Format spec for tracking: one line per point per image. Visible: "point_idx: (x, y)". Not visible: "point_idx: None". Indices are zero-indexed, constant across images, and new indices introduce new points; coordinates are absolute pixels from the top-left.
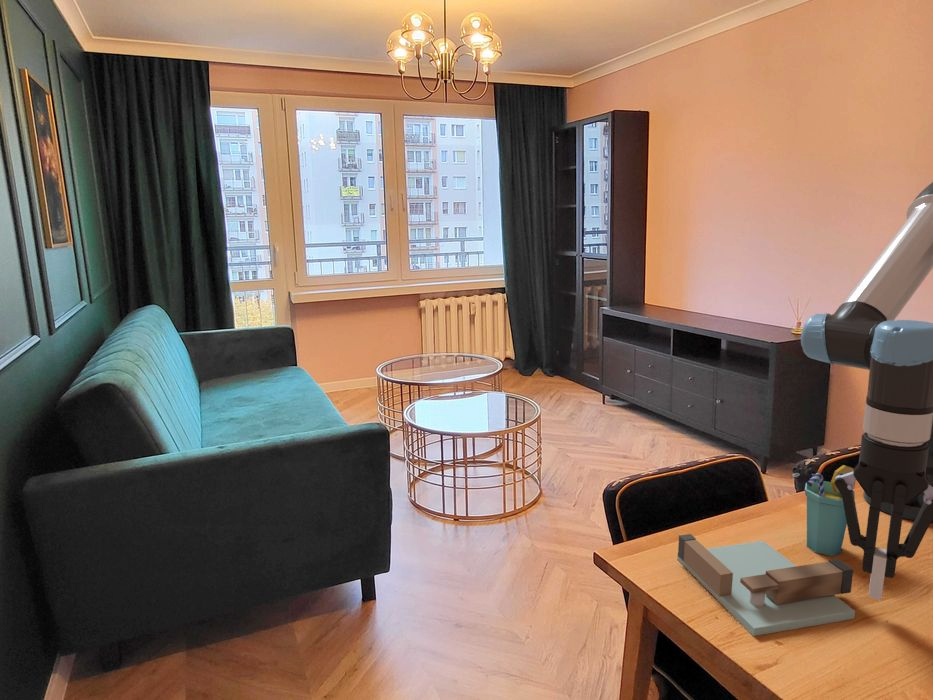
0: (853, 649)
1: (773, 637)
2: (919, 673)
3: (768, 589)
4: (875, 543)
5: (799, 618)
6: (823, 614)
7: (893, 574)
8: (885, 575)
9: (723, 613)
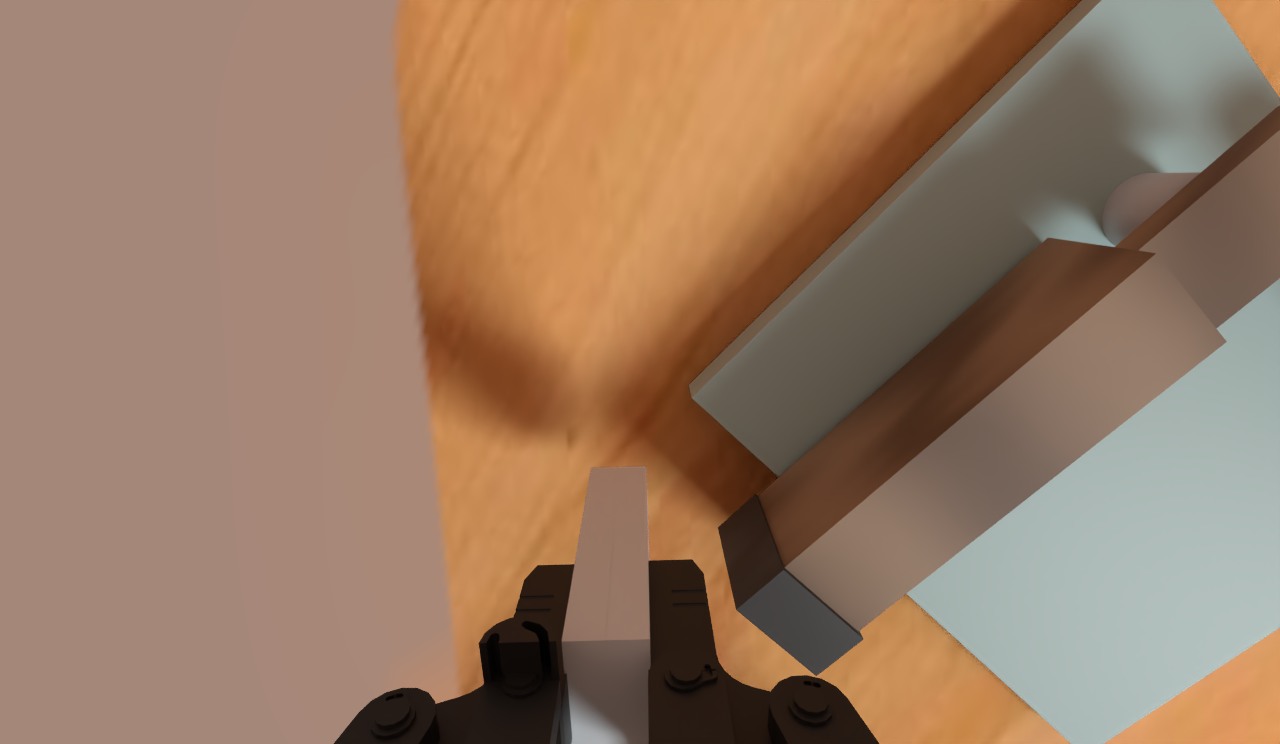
0: (678, 135)
1: (1028, 9)
2: (420, 112)
3: (1180, 197)
4: (651, 738)
5: (931, 187)
6: (823, 290)
7: (529, 585)
8: (573, 569)
9: (1271, 82)
